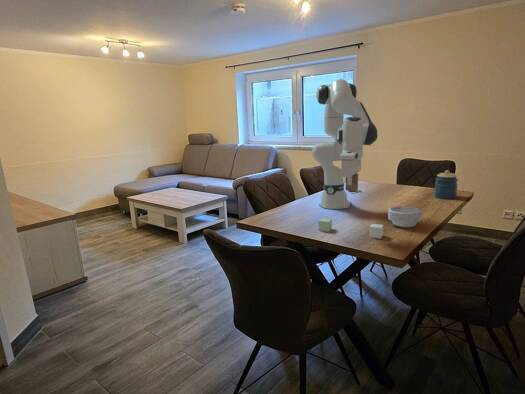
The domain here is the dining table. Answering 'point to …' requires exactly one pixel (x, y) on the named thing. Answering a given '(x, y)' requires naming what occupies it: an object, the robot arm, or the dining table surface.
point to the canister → (446, 185)
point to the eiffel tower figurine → (354, 191)
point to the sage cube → (325, 224)
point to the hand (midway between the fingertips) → (351, 183)
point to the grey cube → (376, 231)
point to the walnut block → (354, 183)
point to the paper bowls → (404, 216)
